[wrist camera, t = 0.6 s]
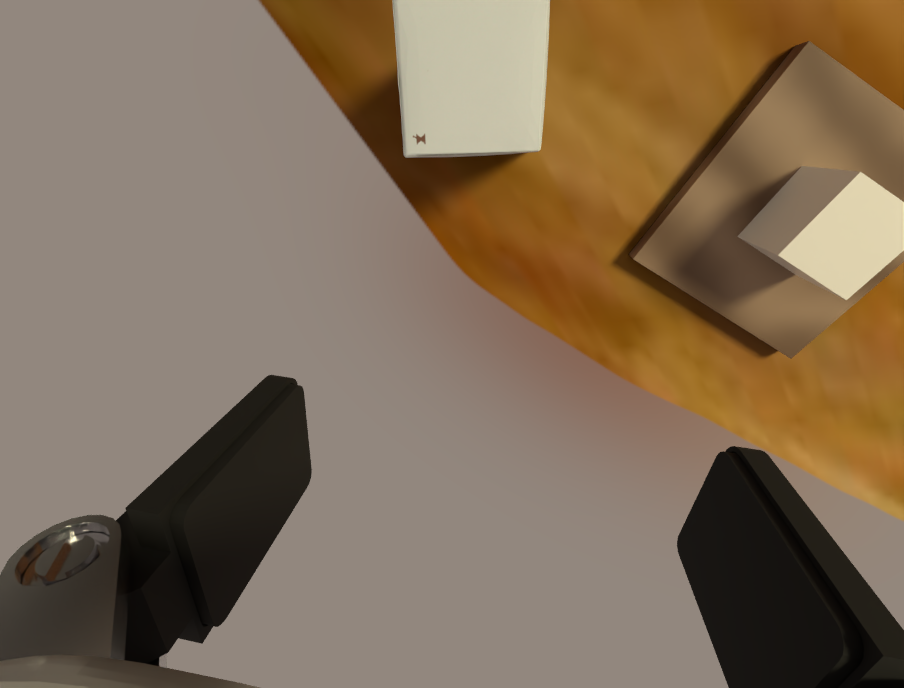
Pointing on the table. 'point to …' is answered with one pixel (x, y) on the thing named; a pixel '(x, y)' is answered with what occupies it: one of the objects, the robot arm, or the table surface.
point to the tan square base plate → (759, 179)
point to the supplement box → (471, 75)
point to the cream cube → (830, 228)
